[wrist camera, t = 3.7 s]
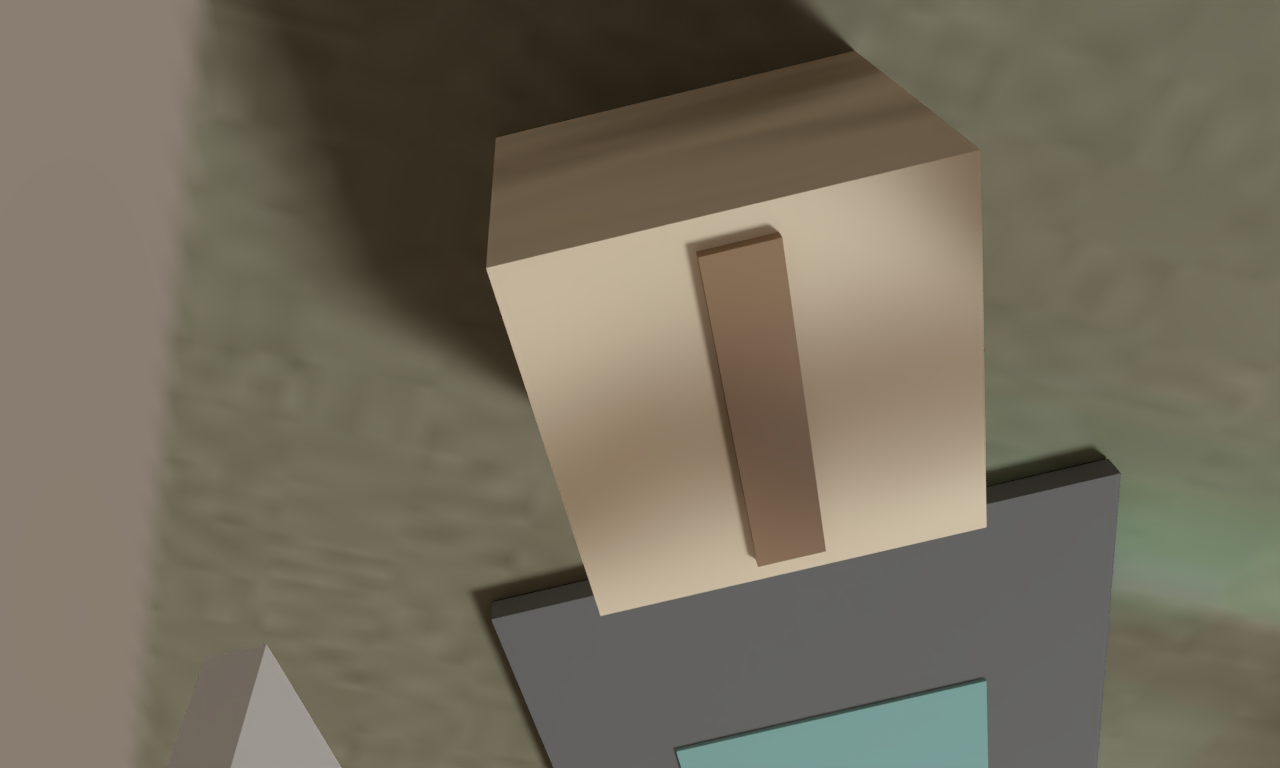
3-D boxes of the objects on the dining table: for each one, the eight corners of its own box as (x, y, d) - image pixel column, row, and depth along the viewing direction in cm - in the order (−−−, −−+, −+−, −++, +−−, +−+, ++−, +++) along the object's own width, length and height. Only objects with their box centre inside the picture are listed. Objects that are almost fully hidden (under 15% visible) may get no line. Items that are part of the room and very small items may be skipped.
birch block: (496, 135, 18) (485, 273, 13) (852, 49, 18) (986, 154, 13) (582, 426, 22) (601, 624, 17) (879, 356, 22) (991, 534, 17)
